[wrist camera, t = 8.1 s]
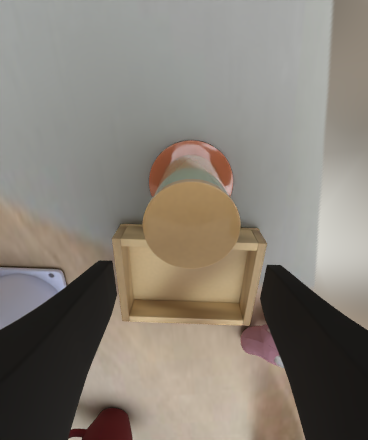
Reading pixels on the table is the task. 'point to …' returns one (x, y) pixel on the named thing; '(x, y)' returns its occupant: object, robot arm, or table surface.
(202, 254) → the spice jar
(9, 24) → the table surface
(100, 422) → the mug
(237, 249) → the crate
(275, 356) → the video game controller
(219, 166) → the coaster
